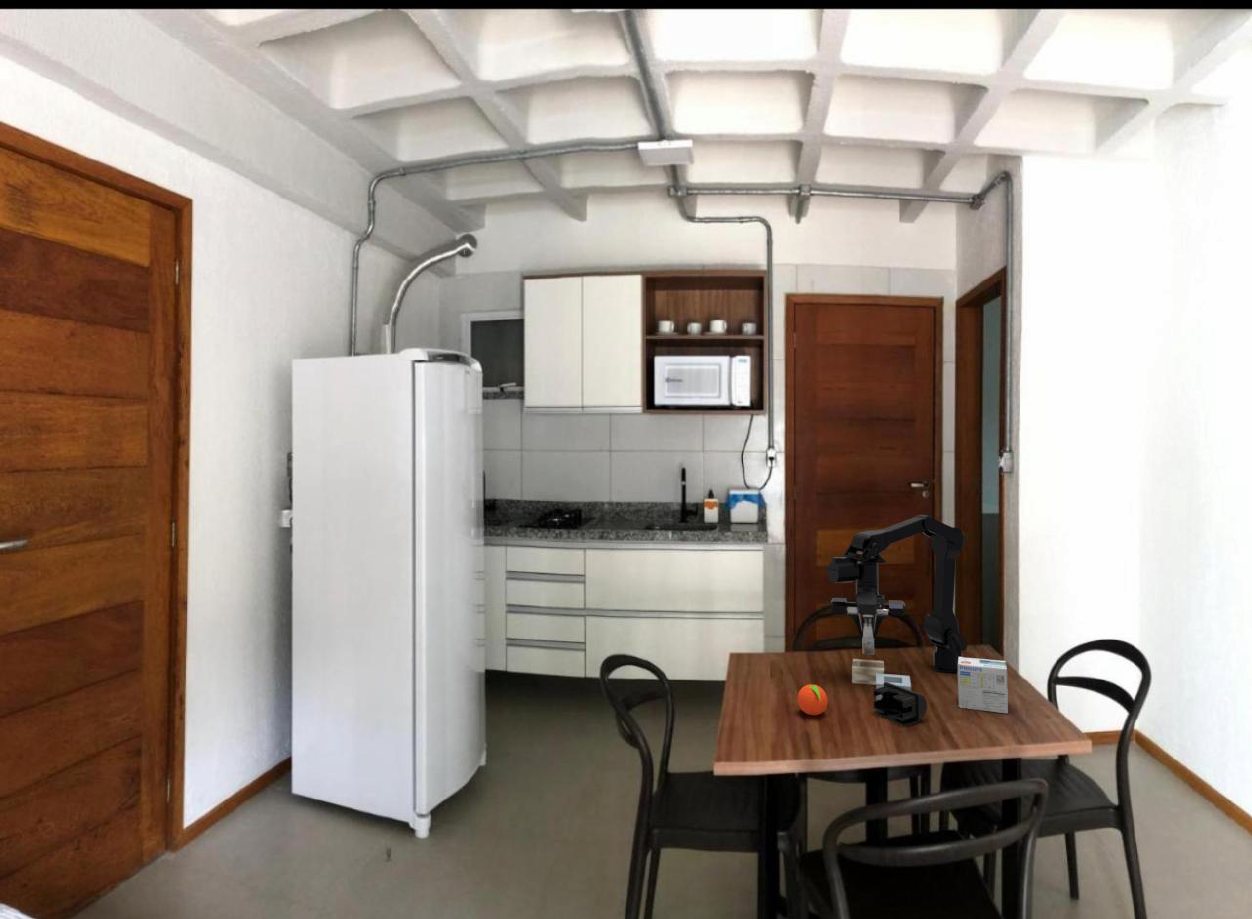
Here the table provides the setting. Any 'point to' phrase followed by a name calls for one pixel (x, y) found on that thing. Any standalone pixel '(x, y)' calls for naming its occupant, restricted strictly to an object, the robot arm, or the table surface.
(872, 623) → the cylinder
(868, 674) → the birch block
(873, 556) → the robot arm
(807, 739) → the table surface
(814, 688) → the clementine
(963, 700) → the light bulb box
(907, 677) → the slate block
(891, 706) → the end cap
